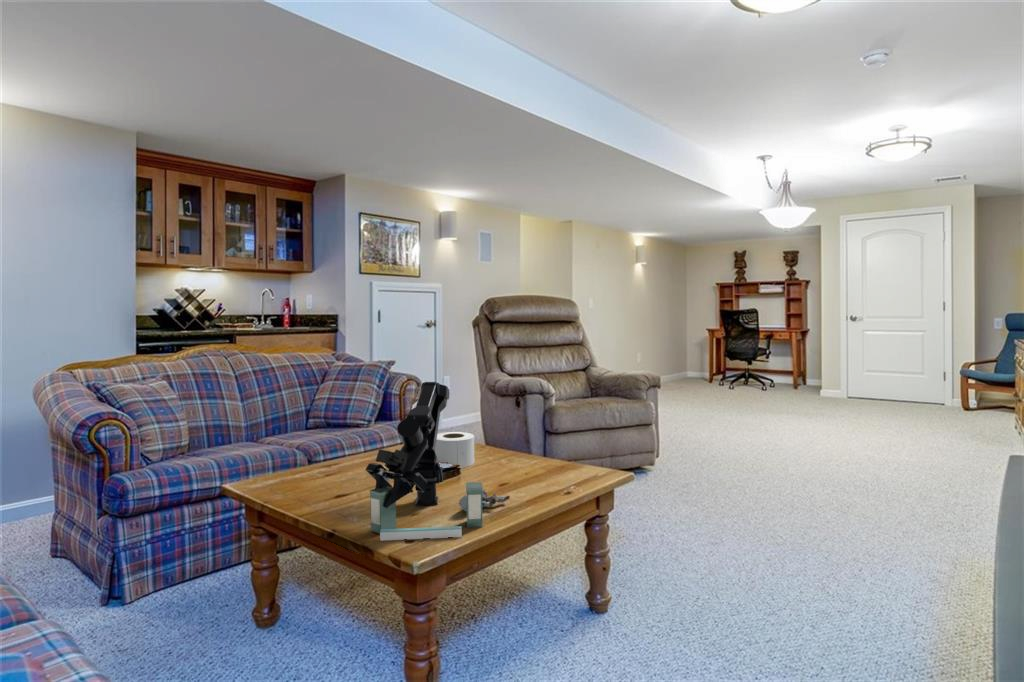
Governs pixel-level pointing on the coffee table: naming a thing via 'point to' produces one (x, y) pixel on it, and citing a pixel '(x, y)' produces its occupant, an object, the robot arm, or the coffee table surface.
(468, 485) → the twin tin
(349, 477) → the coffee table surface
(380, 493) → the tea tin
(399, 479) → the robot arm
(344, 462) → the coffee table surface
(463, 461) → the object
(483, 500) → the toy
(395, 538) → the rail
